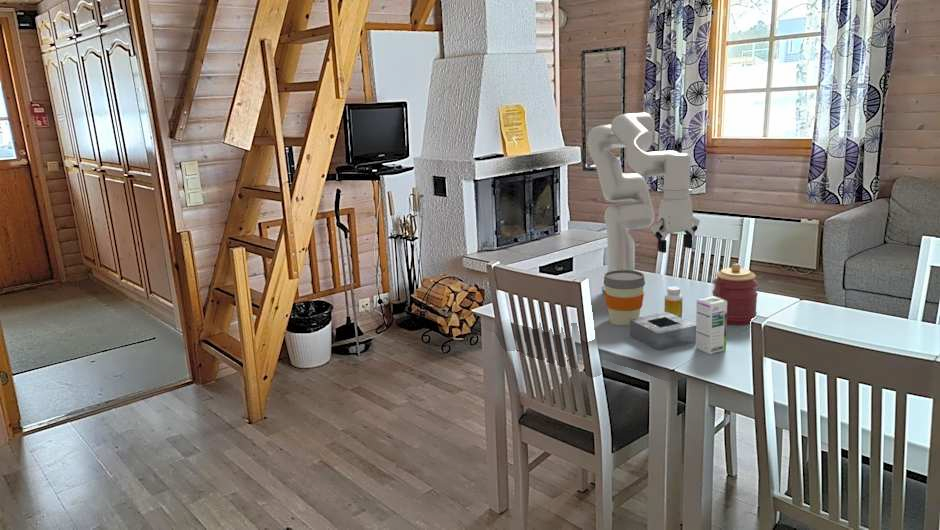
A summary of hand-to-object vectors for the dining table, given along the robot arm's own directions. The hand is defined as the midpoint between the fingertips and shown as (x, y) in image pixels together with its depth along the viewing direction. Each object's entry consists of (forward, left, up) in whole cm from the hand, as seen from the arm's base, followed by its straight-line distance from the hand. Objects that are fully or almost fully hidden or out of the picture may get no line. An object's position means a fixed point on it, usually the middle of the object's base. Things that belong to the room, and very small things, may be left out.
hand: (675, 249), depth 204 cm
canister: (+10, +15, -22) cm, 29 cm away
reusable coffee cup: (-5, -15, -22) cm, 27 cm away
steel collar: (+13, -14, -22) cm, 29 cm away
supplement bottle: (0, 0, -22) cm, 22 cm away
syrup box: (+26, -8, -22) cm, 35 cm away
